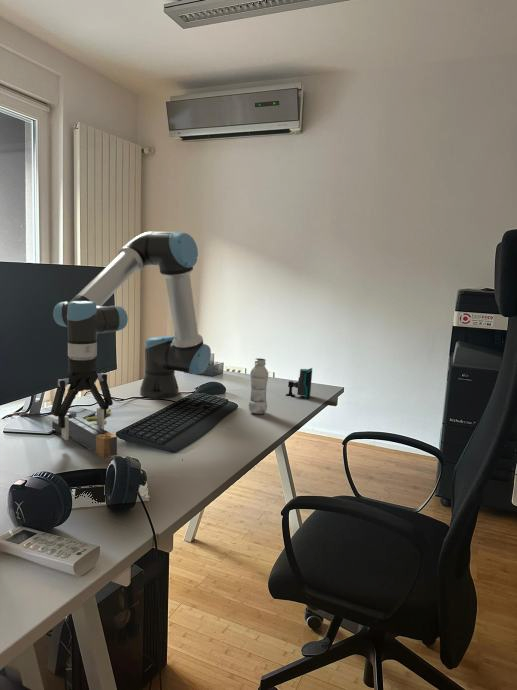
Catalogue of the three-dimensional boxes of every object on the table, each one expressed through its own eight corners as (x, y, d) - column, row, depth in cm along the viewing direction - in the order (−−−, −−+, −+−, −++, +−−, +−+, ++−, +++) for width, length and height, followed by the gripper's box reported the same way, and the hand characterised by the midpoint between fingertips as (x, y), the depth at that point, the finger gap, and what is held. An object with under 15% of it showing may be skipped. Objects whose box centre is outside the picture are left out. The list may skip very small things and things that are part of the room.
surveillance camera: (288, 365, 199) (312, 367, 198) (286, 393, 201) (310, 395, 200) (287, 368, 193) (311, 370, 192) (285, 397, 195) (309, 399, 194)
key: (111, 414, 164) (111, 408, 164) (105, 426, 152) (105, 420, 152) (89, 414, 163) (89, 408, 163) (81, 426, 151) (81, 420, 151)
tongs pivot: (50, 430, 145) (49, 408, 144) (64, 427, 148) (64, 405, 147) (65, 439, 138) (64, 416, 137) (79, 436, 142) (79, 413, 140)
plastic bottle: (264, 417, 169) (268, 362, 165) (246, 414, 170) (249, 360, 166) (268, 411, 175) (271, 358, 171) (250, 409, 176) (253, 356, 173)
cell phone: (149, 503, 106) (149, 499, 106) (63, 511, 101) (63, 507, 100) (146, 484, 114) (146, 481, 114) (66, 492, 109) (66, 488, 109)
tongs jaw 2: (73, 434, 139) (73, 417, 138) (79, 432, 141) (79, 415, 140) (110, 456, 125) (110, 437, 124) (116, 454, 126) (117, 436, 126)
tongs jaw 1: (67, 435, 138) (66, 418, 137) (73, 434, 139) (72, 417, 138) (103, 458, 124) (103, 439, 123) (110, 456, 125) (110, 437, 124)
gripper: (47, 364, 120) (49, 447, 124) (125, 355, 137) (125, 429, 141) (35, 359, 125) (37, 439, 129) (112, 351, 142) (112, 422, 146)
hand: (83, 434), depth 135 cm, fingers open, 10 cm apart
